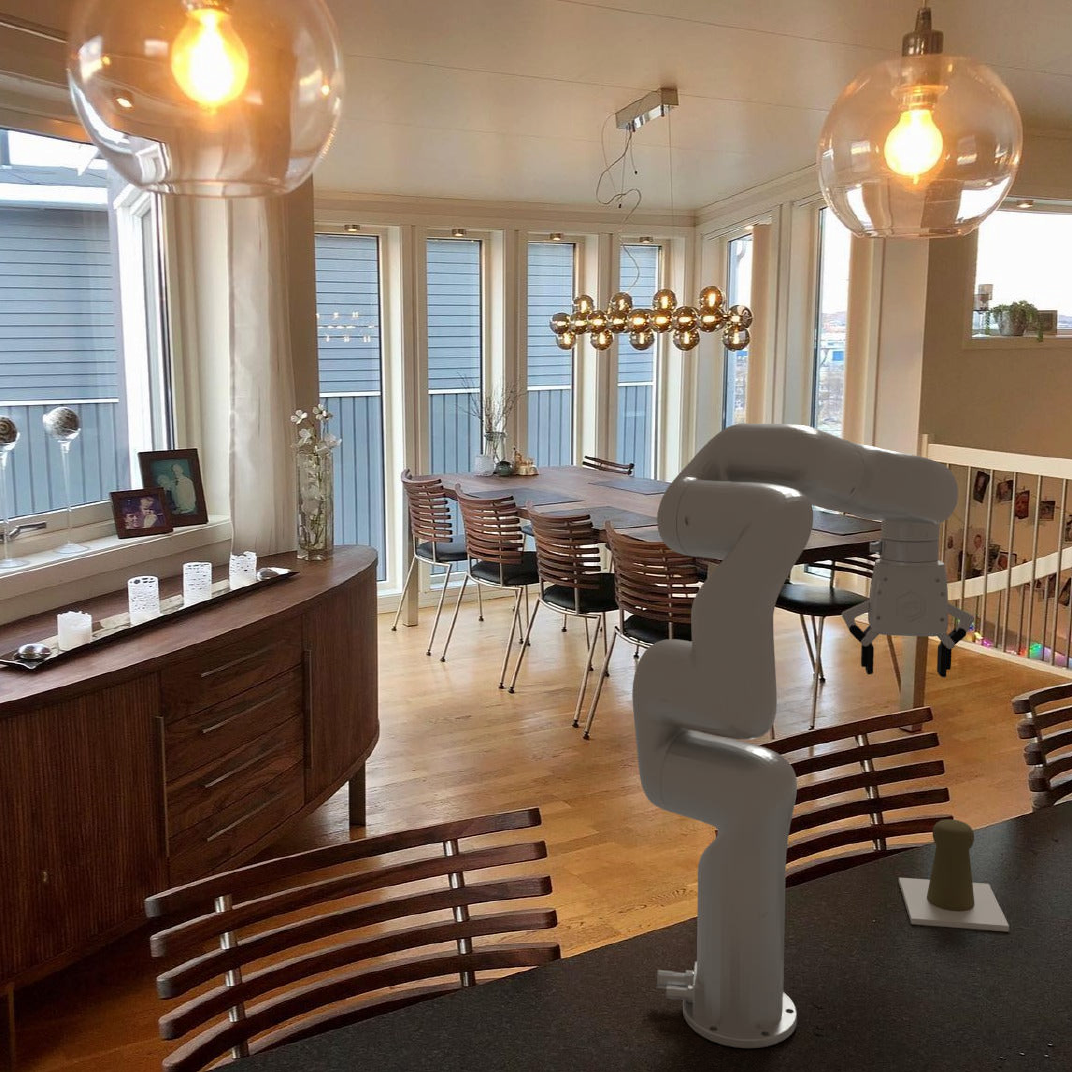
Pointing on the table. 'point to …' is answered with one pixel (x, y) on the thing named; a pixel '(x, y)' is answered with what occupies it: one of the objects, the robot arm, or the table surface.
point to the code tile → (979, 917)
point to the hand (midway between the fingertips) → (905, 673)
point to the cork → (952, 867)
